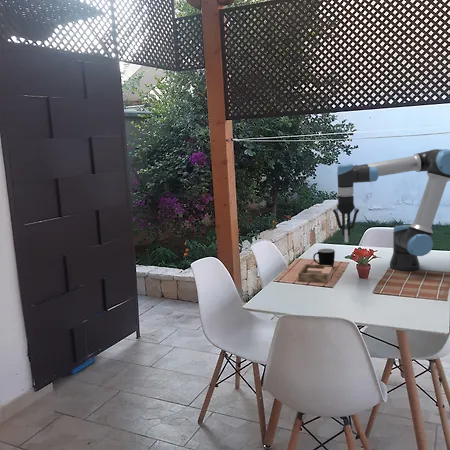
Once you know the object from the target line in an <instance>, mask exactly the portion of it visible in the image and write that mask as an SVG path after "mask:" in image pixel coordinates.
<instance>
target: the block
mask: <svg viewBox="0 0 450 450" xmlns="http://www.w3.org/2000/svg"><path fill="white" fill-rule="evenodd" d="M333 272H334V271H333V268H332V267H324V269H316V268H308V269H307V273H309V274H327V282H330V280H331V278H332V276H333V275H332V274H333Z"/></svg>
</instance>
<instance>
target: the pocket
mask: <svg viewBox="0 0 450 450" xmlns="http://www.w3.org/2000/svg"><path fill="white" fill-rule="evenodd" d="M324 267H332V265H319V264H310V263H309V264H307V263H306V264H304V265H303V267H302V268H301V269H300V271H299V272H298V273H297V274H298V282H306V283H323V284H324V283H325V284H326V283H328V281H327V274H309V273H307V269H308V268H316V269H324Z"/></svg>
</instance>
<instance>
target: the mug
mask: <svg viewBox="0 0 450 450" xmlns="http://www.w3.org/2000/svg"><path fill="white" fill-rule="evenodd" d="M335 254H336V252H335V249H334V248H320V249H319V248H318V251H317V252H316V253H314V254H313V256H312V259H313V261H314V263H316V265H332V269H333V268H334V264H335V256H336V255H335ZM317 255H318V261H317V260H316V256H317Z"/></svg>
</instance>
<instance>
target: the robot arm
mask: <svg viewBox="0 0 450 450" xmlns="http://www.w3.org/2000/svg"><path fill="white" fill-rule="evenodd" d="M408 172H409V173H410V172H417V173H421V172H426V174H427V178H428V179H427V182H426V184H425V187H424V191H423V194H422V196H421V197H422V198H421V199H420V203H419V206H418V209H417V211H416V214H415V218H414V220H413V222H412V224H410V225H409V224H408V225H406V224H404V225H396V226H394V227H393V232H392V233H393V237H392V238H393V242H392V244H393V245H392V246H393V249H392V250H393V251H392V252H393V253H392V256H391V258H390V262H389V268H390V269H392V270H395V271H401V272H404V271H405V272H410V271H411V272H412V271H418V270H419V269H421V268H420V266H421V265H420V264H421V263H420V262H419V258H418V257H423V256H425V255H428V254H429V253H430V252H431V251H432V249H433V247H434V241H433V239H432V238H433V237H432V236H433V233H434V231H433V229H432V226H433V224H434V221H435V218H436V216H437V213H438V209H439V206H440V203H441V200H442V198H443V195H444V192H445V188H446V186H447V183H448V182H450V149H447V148H445V149H441V148H440V149H439V148H438V149H437V148H436V149H435V148H434V149H430V150H426V151H422V152H417V153H414V154H413V155H411V156H405V157H401V158H400V157H399V158H394V159H388V160H382V161H376V162H371V163H365V164H359V165H358V164H355V165H354V164H352V163H341V164H339V165H338V166H337V173H336V174H337V195H338V196H337V206H336V208H333V210H332V212H333V213H334V216H335V220H336V223H337V227H338V228H339V229H341V230H342V233H341V234H342V236H344V243H349V236H351V229H354V227H355V224H356V220H357V217H358V213H359V212H360V209H359V208H356V207H355V202H354V200H355V198H354V184H355V183H356V184H358V183H372V182H377V180H378V179H379V177H384V176H390V175H396V174H402V173H408ZM352 212H354V214H353V218H352V223H351V213H352ZM339 213H341V218H340V215H339ZM346 218H347V219H346ZM340 219H341V220H340ZM346 220H347V221H346ZM346 222H347V223H346ZM346 225H347V228H346Z"/></svg>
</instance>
